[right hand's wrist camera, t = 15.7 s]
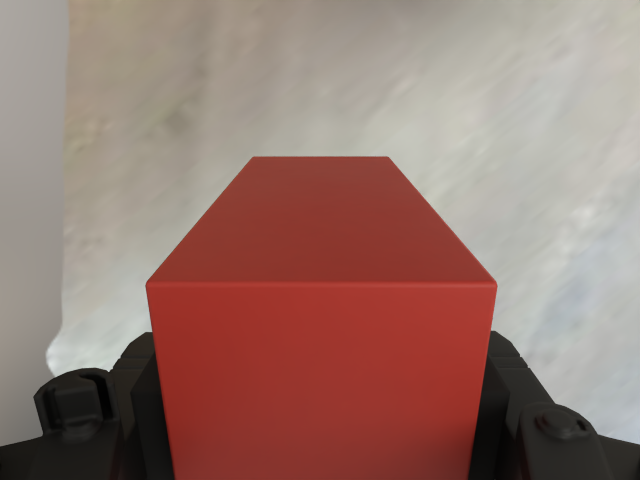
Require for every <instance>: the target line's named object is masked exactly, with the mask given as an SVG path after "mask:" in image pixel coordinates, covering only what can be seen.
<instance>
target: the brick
mask: <svg viewBox="0 0 640 480" xmlns="http://www.w3.org/2000/svg"><path fill="white" fill-rule="evenodd" d="M146 292H147V299H148V306H149V312H150V319H151V326H152V332H153V339H154V346H155V352H156V359H157V366H158V372H159V379H160V385H161V392H162V399H163V405H164V412H165V419H166V425H167V432H168V439H169V445H170V452H171V459H172V465H173V472H174V479H175V480H468V475H469V469H470V462H471V456H472V449H473V443H474V436H475V430H476V423H477V416H478V410H479V403H480V397H481V390H482V384H483V377H484V371H485V364H486V357H487V351H488V344H489V338H490V331H491V325H492V318H493V312H494V305H495V299H496V292H497V283H496V281H495V280H494V279H493V277H492V276H491V275H490V274H489V273H488V272H487V270H486V269H485V268H484V267H483V266H482V265H481V264H480V262H479V261H478V260H477V259H476V258H475V257H474V255H473V254H472V253H471V252H470V251H469V250H468V248H467V247H466V246H465V245H464V244H463V243H462V241H461V240H460V239H459V238H458V237H457V236H456V235H455V233H454V232H453V231H452V230H451V229H450V228H449V226H448V225H447V224H446V223H445V222H444V221H443V219H442V218H441V217H440V216H439V215H438V214H437V213H436V211H435V210H434V209H433V208H432V207H431V206H430V204H429V203H428V202H427V201H426V200H425V199H424V197H423V196H422V195H421V194H420V193H419V192H418V190H417V189H416V188H415V187H414V186H413V185H412V184H411V182H410V181H409V180H408V179H407V178H406V177H405V175H404V174H403V173H402V172H401V171H400V170H399V168H398V167H397V166H396V165H395V164H394V163H393V162H392V160H391V159H390V158H389V157H252V158H251V159H250V161H249V162H248V163H247V164H246V165H245V167H244V168H243V169H242V170H241V171H240V172H239V174H238V175H237V176H236V177H235V178H234V179H233V181H232V182H231V183H230V184H229V185H228V187H227V188H226V189H225V190H224V191H223V192H222V194H221V195H220V196H219V197H218V198H217V200H216V201H215V202H214V203H213V204H212V205H211V207H210V208H209V209H208V210H207V211H206V212H205V214H204V215H203V216H202V217H201V218H200V220H199V221H198V222H197V223H196V224H195V225H194V227H193V228H192V229H191V230H190V231H189V233H188V234H187V235H186V236H185V237H184V238H183V240H182V241H181V242H180V243H179V244H178V245H177V247H176V248H175V249H174V250H173V251H172V253H171V254H170V255H169V256H168V257H167V258H166V260H165V261H164V262H163V263H162V264H161V266H160V267H159V268H158V269H157V270H156V271H155V273H154V274H153V275H152V276H151V277H150V278H149V280H148V281H147V283H146Z"/></svg>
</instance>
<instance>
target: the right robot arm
mask: <svg viewBox="0 0 640 480" xmlns="http://www.w3.org/2000/svg"><path fill="white" fill-rule="evenodd" d="M33 398H34V401H35V405H36V409H37V412H38V416H39V420H40V423H41V427H42V430H43V435H42V436H41V437H38V438H35V439H31V440H27V441H22V442H18V443H14V444H9V445H5V446H1V447H0V480H175V479H174V472H173V465H172V459H171V452H170V445H169V439H168V432H167V425H166V419H165V412H164V405H163V399H162V392H161V385H160V379H159V372H158V366H157V359H156V352H155V346H154V339H153V332H145V333H144V334H142V335H141V336H139V337H138V338H137V339H135V340H134V341H132V342H131V343H130V344H129V345H128V346H127V348H126V349H125V351H124V352H123V353H122V355H121V358H120V359H118V360H117V362H116V363H115V365H114V366H113V369H111V370H110V372H108V371H107V370H103V369H99V368H82V369H78V370H74V371H70V372H66V373H64V374H62V375H60V376H57V377H55V378H53V379H52V380H50V381H49V382H47V383H46V384H45V385H43V386H42V387H40V389H39V390H38V391H37V393H36V394H35V395H34V397H33ZM468 480H640V445H639V444H635V443H630V442H626V441H622V440H617V439H613V438H609V437H605V436H602V435H598V434H597V432H596V431H595V429H594V428H593V426H592V425H591V423H590V422H589V421H587V420H586V419H585V418H584V417H583V416H581V415H580V414H579V413H577V412H575V411H573V410H571V409H569V408H567V407H565V406H562V405H558V404H555V403H554V401H553V400H552V398H551V397H550V396H549V394H548V393H547V391H546V390H545V389H544V387H543V386H542V385H541V383H540V382H539V380H538V379H537V378H536V376H535V375H534V373H533V372H532V371H531V369H530V368H528V365H527V364H526V362H525V361H524V360H523V358H522V357H520V354H519V353H518V351H517V350H516V348H515V347H514V346H513V344H512V343H511V342H510V341H509V340H507V339H506V338H505V337H503V336H502V335H500V334H499V333H497V332H496V331H490V338H489V344H488V351H487V357H486V364H485V371H484V377H483V384H482V390H481V397H480V403H479V410H478V416H477V423H476V430H475V436H474V443H473V449H472V456H471V462H470V469H469V475H468Z"/></svg>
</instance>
